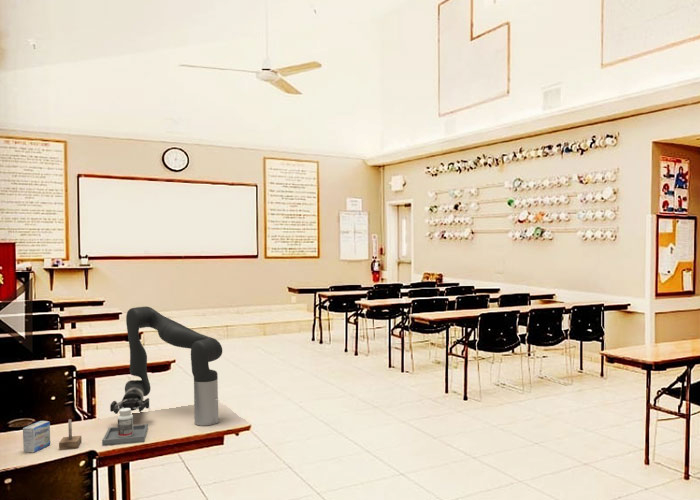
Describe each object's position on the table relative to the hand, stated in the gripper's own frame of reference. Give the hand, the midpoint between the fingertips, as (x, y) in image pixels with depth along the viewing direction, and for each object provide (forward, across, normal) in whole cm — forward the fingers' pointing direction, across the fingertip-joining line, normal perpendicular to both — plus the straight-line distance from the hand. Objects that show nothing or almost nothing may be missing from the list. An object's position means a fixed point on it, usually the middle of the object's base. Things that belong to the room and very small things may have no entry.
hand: (128, 410), depth 212 cm
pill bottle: (+7, 0, +8) cm, 10 cm away
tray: (+7, 0, +8) cm, 11 cm away
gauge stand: (+11, -18, +8) cm, 23 cm away
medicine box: (+10, -29, +8) cm, 32 cm away
